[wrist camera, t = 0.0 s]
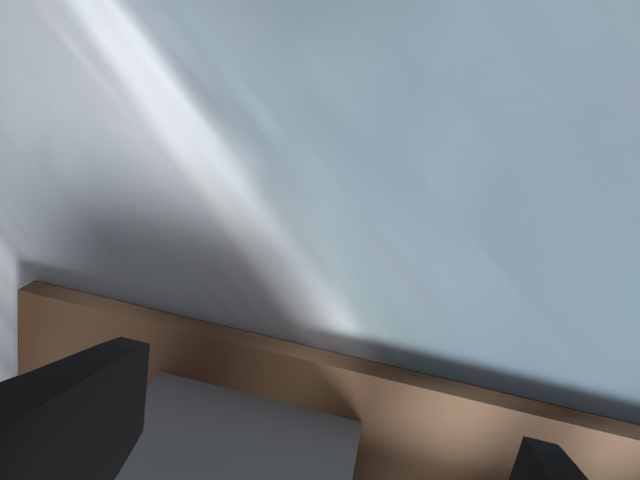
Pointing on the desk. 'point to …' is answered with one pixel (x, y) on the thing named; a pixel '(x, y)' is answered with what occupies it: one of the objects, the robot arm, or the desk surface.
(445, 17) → the desk surface
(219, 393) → the block
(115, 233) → the desk surface
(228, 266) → the desk surface
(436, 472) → the base board
